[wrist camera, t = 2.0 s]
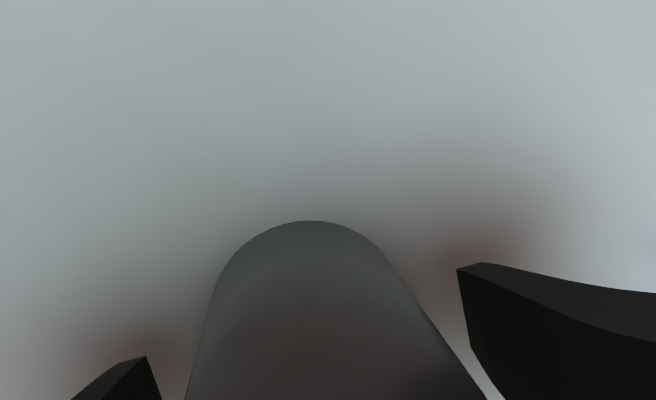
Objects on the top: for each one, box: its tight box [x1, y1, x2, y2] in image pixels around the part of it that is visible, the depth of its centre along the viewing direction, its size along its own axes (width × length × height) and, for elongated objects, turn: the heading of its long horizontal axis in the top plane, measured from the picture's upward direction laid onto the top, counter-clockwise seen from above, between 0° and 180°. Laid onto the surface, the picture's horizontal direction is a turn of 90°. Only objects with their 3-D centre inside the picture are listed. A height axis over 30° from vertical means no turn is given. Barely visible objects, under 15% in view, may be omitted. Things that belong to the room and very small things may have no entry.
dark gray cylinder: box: [184, 221, 487, 400], centre depth 10 cm, size 5×5×6 cm
